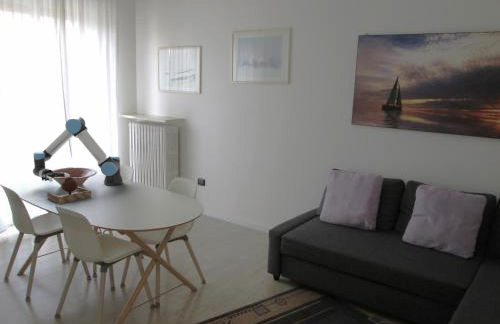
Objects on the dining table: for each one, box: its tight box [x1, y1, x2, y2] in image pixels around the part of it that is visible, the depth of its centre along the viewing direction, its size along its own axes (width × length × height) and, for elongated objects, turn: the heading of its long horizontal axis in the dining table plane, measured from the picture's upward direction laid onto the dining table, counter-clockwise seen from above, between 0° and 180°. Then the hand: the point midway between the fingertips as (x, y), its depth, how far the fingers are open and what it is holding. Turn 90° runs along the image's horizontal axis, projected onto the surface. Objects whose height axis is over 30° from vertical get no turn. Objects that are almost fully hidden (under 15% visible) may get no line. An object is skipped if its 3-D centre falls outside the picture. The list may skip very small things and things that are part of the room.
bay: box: [46, 186, 92, 205], centre depth 299 cm, size 24×17×5 cm
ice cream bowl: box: [60, 176, 78, 195], centre depth 298 cm, size 11×11×15 cm
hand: (60, 178), depth 303 cm, fingers open, 13 cm apart
